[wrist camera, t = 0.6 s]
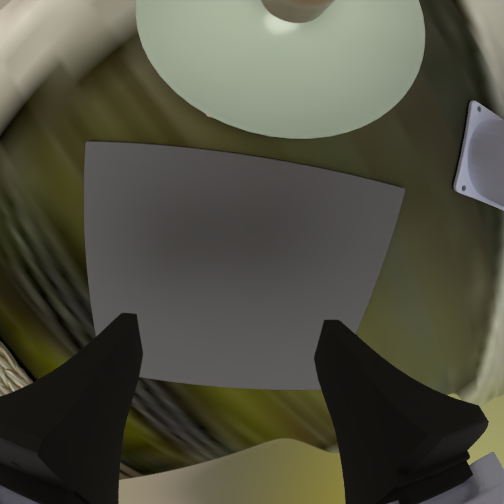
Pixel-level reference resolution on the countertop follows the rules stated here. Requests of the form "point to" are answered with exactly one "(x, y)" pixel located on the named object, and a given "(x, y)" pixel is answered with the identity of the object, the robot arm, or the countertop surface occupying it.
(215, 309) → the rubber mat
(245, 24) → the lid
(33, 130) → the countertop surface
